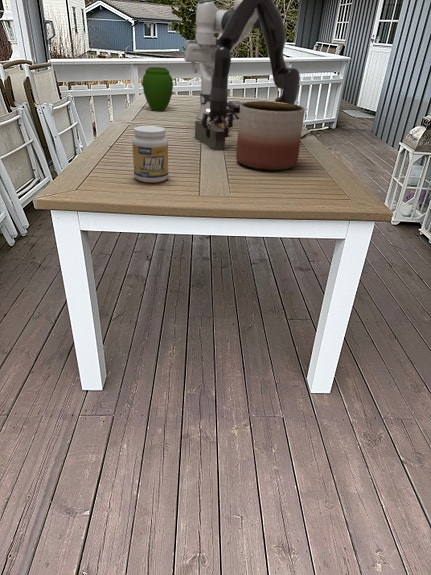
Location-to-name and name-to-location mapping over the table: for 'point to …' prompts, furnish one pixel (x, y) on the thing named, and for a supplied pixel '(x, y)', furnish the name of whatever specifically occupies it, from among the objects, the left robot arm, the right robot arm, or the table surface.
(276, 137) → the planter
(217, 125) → the seashell
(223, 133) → the bar
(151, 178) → the supplement tub
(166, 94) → the vase
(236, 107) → the sign
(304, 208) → the table surface
